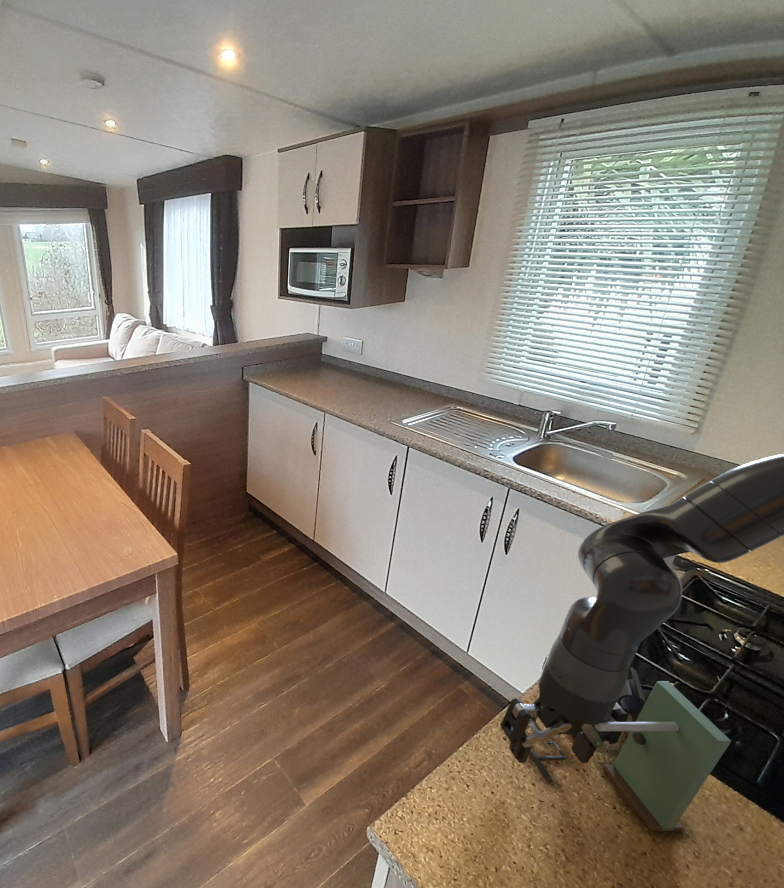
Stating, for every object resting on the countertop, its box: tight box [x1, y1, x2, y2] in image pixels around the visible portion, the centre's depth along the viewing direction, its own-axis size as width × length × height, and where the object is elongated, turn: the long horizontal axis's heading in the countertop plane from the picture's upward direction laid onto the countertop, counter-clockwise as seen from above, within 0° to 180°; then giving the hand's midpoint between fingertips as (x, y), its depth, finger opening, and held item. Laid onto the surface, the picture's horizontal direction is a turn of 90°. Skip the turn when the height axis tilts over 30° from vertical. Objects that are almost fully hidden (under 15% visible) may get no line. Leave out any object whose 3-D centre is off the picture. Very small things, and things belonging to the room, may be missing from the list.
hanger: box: [529, 741, 567, 783], centre depth 71 cm, size 9×1×5 cm
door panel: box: [595, 680, 732, 832], centre depth 61 cm, size 8×12×18 cm, turn 89°
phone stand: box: [570, 666, 647, 740], centre depth 71 cm, size 9×6×12 cm, turn 58°
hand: (548, 756), depth 67 cm, fingers open, 8 cm apart
